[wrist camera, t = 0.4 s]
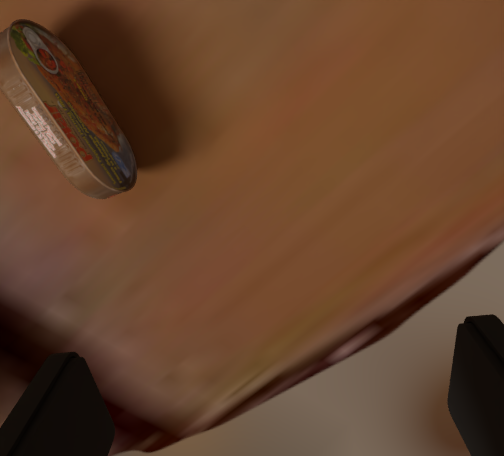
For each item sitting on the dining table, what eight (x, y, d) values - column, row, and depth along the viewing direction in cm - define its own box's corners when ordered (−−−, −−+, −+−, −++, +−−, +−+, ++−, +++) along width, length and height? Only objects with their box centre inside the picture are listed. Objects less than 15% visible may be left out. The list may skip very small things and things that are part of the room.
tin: (147, 172, 38) (120, 204, 31) (121, 184, 39) (88, 218, 31) (54, 19, 32) (-9, 12, 25) (25, 37, 33) (-44, 35, 26)
